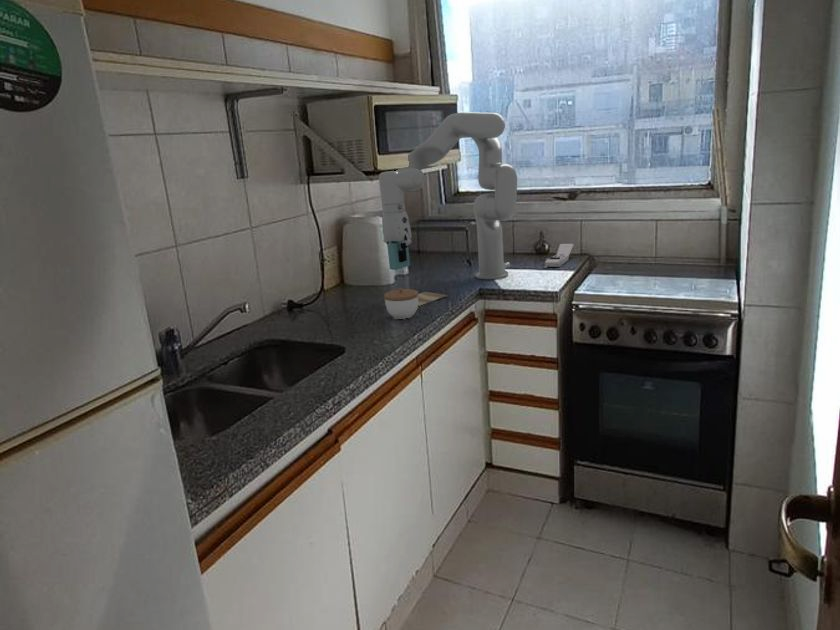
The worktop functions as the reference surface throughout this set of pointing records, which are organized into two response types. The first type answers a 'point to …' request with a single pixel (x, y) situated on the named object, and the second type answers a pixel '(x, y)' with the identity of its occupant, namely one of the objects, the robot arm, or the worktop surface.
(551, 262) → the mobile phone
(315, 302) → the worktop surface
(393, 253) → the tile
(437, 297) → the mat
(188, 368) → the worktop surface
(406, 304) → the lidded jar
